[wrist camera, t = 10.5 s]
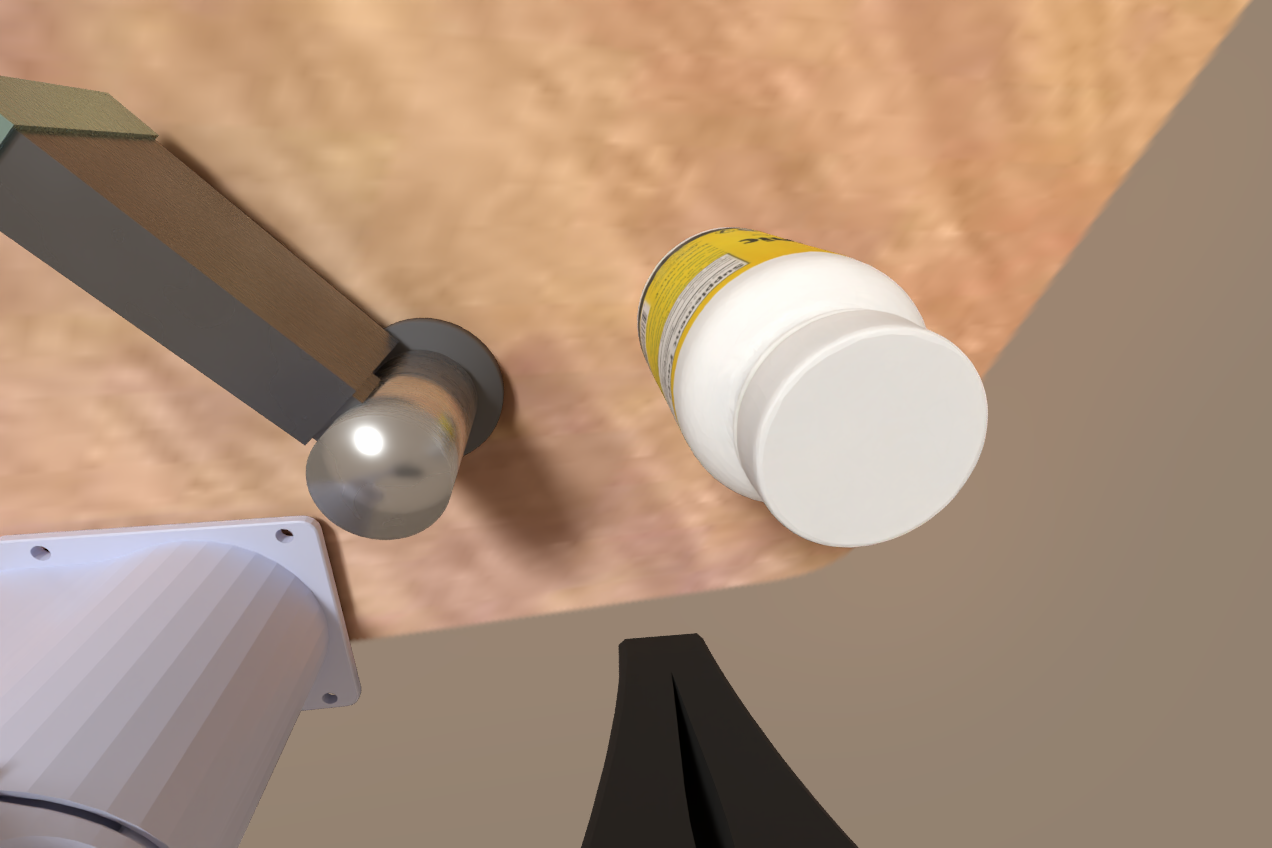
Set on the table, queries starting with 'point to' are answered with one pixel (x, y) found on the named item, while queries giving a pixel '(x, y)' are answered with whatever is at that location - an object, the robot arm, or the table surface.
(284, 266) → the swing bar
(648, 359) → the supplement bottle
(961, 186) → the table surface
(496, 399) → the pivot base
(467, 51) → the table surface
